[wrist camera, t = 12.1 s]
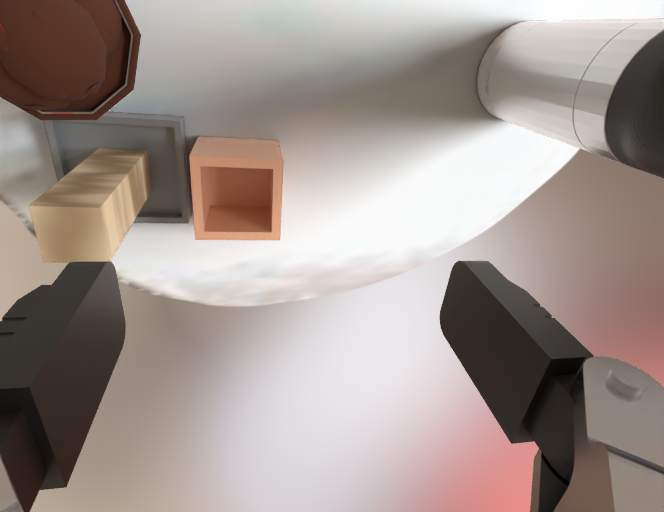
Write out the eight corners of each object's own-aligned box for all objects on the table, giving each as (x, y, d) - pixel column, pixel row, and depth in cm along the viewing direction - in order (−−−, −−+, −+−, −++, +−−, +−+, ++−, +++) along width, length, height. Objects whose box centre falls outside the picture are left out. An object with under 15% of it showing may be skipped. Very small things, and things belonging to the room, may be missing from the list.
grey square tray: (183, 116, 38) (180, 120, 36) (191, 215, 42) (188, 223, 41) (51, 108, 35) (41, 112, 34) (75, 213, 40) (67, 221, 38)
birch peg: (147, 150, 38) (99, 208, 26) (151, 190, 39) (109, 262, 27) (99, 147, 37) (28, 205, 25) (106, 189, 39) (43, 262, 27)
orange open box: (277, 140, 40) (283, 160, 34) (275, 210, 44) (280, 240, 38) (198, 135, 39) (189, 156, 33) (202, 209, 42) (195, 239, 36)
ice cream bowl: (118, -73, 30) (24, -146, 18) (186, 80, 36) (152, 109, 23) (-16, -29, 30) (-210, -70, 17) (73, 118, 36) (-23, 168, 23)
